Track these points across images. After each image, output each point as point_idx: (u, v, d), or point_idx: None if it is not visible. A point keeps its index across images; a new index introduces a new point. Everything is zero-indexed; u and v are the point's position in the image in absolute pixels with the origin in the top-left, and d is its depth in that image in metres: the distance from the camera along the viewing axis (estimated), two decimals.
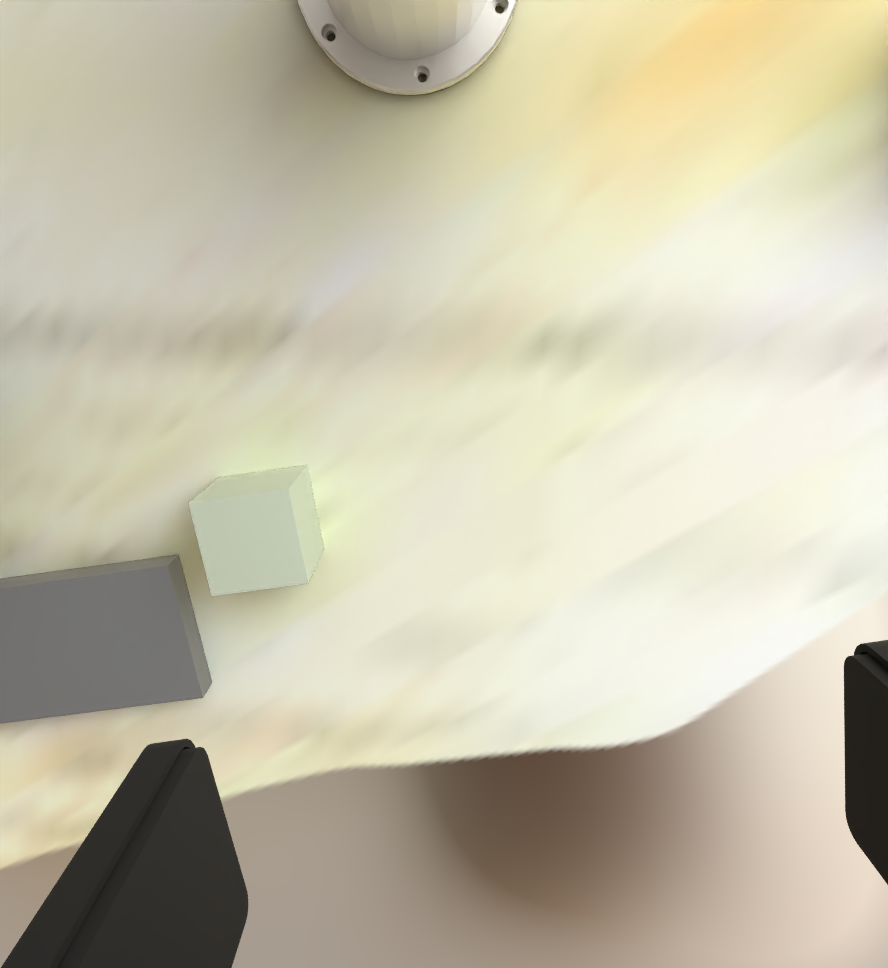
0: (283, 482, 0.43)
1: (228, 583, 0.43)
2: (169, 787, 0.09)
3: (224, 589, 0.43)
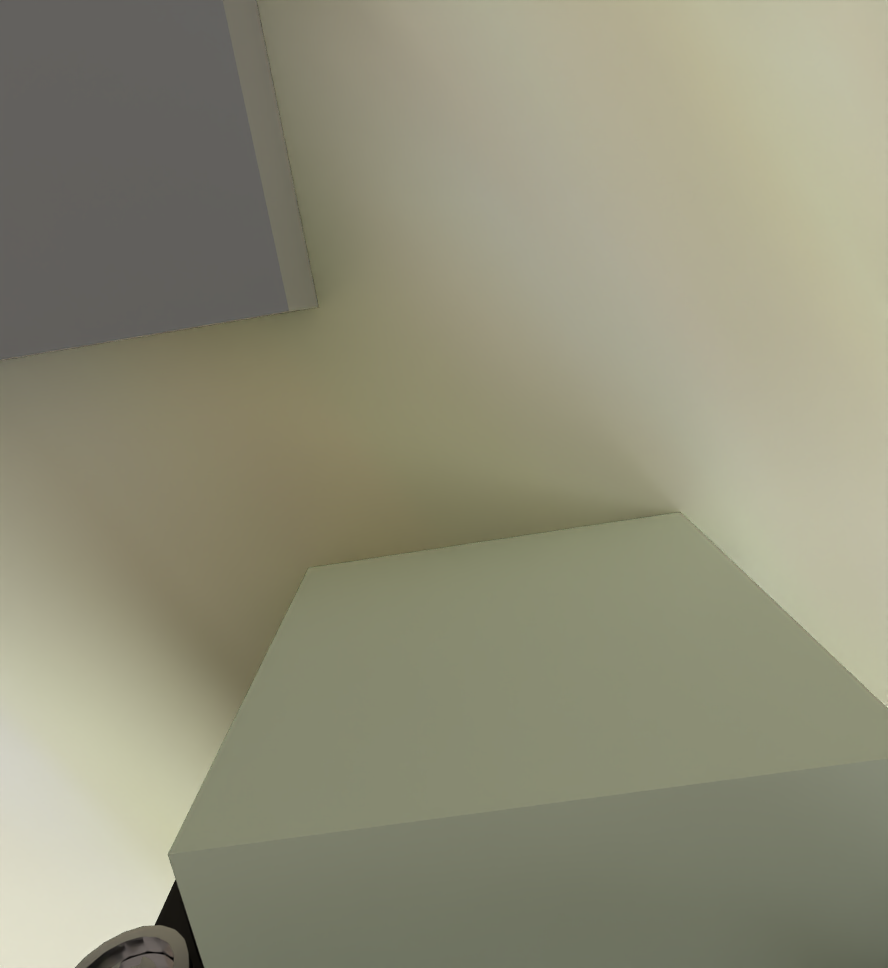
0: None
1: (284, 958, 0.06)
2: None
3: (237, 933, 0.06)
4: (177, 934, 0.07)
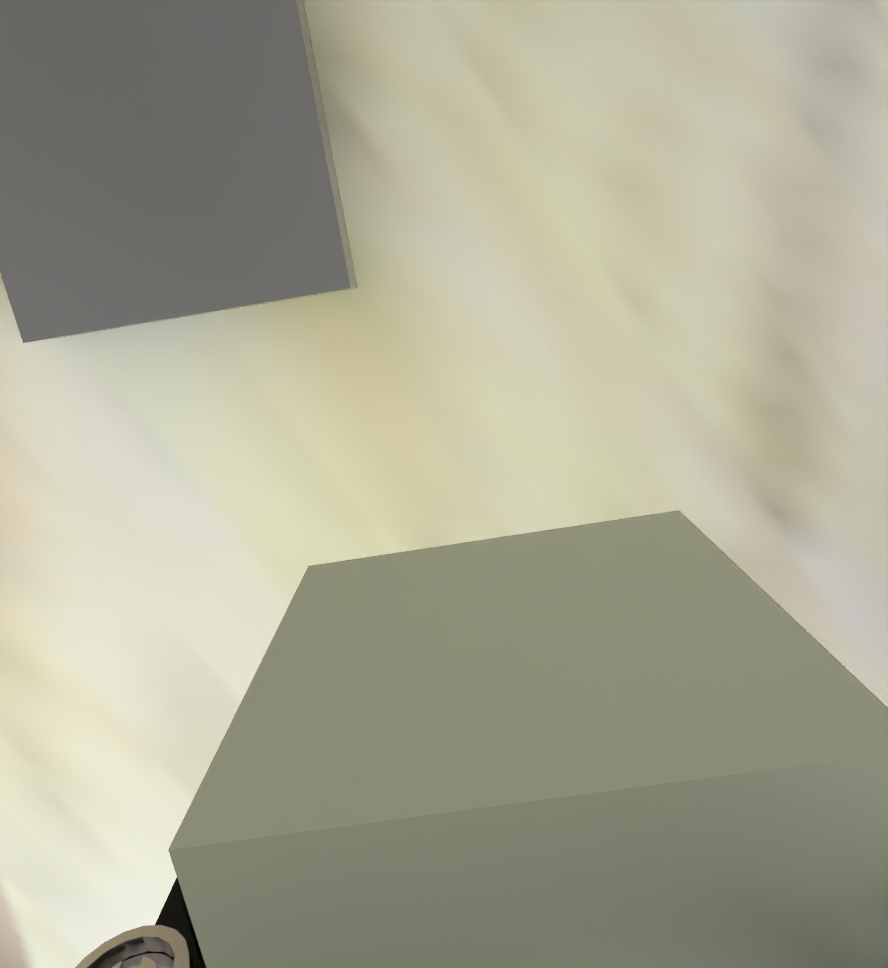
0: None
1: (284, 953, 0.06)
2: None
3: (238, 928, 0.06)
4: (177, 934, 0.07)
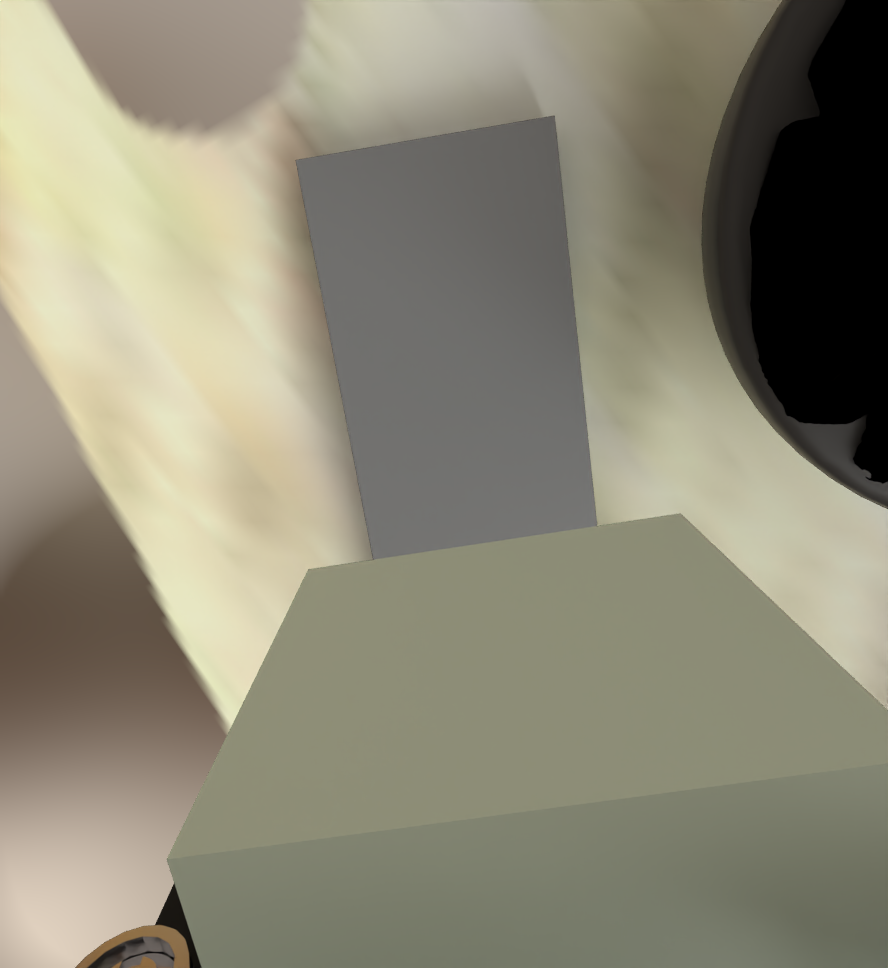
0: None
1: (283, 963, 0.06)
2: None
3: (236, 938, 0.06)
4: (178, 934, 0.07)
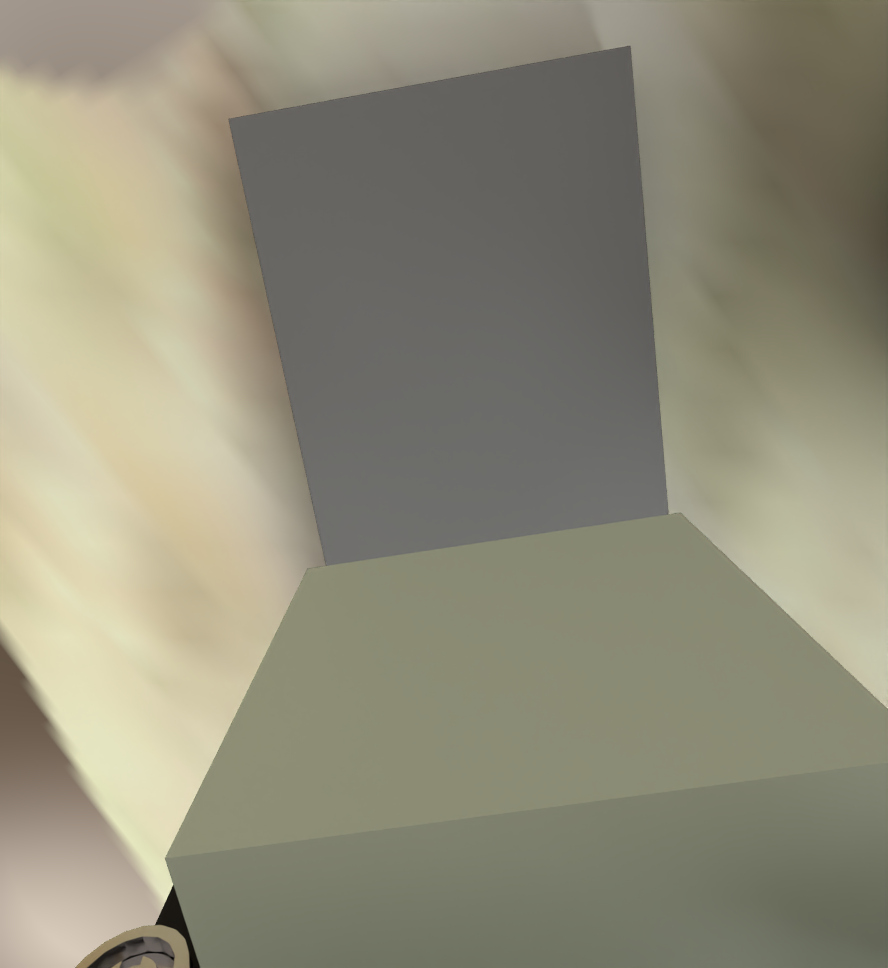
0: None
1: (282, 963, 0.06)
2: None
3: (234, 937, 0.06)
4: (178, 934, 0.07)
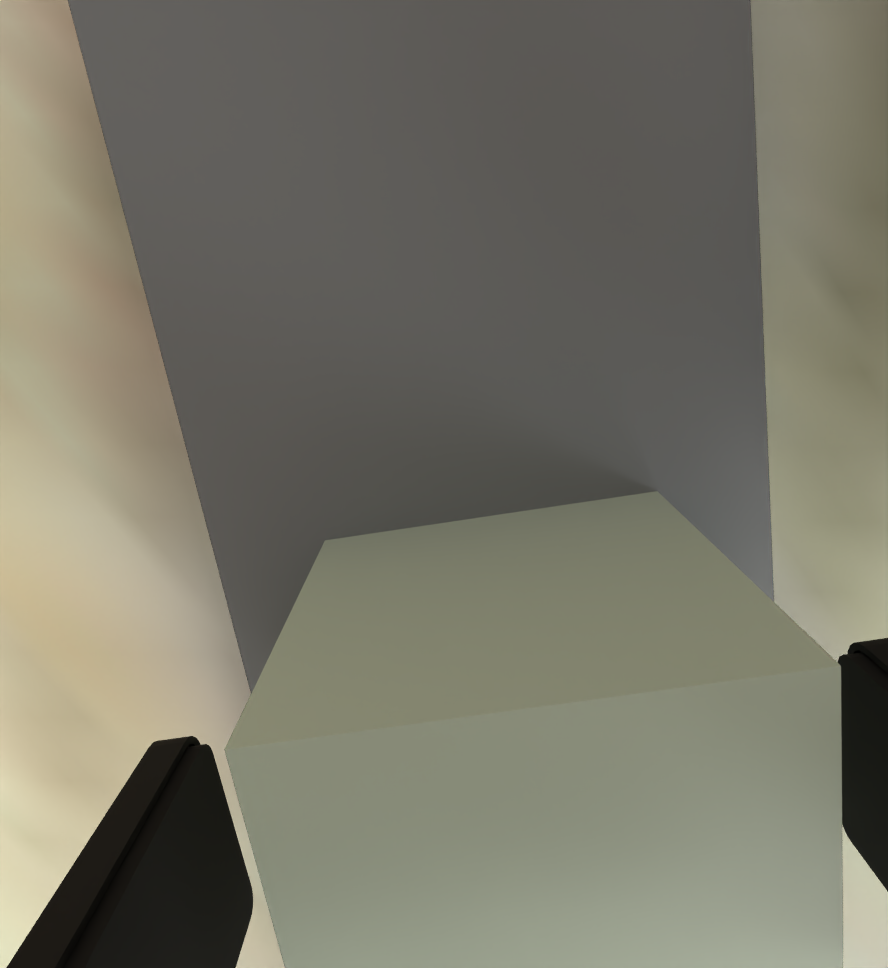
0: None
1: (317, 839, 0.07)
2: (175, 784, 0.09)
3: (279, 817, 0.07)
4: None
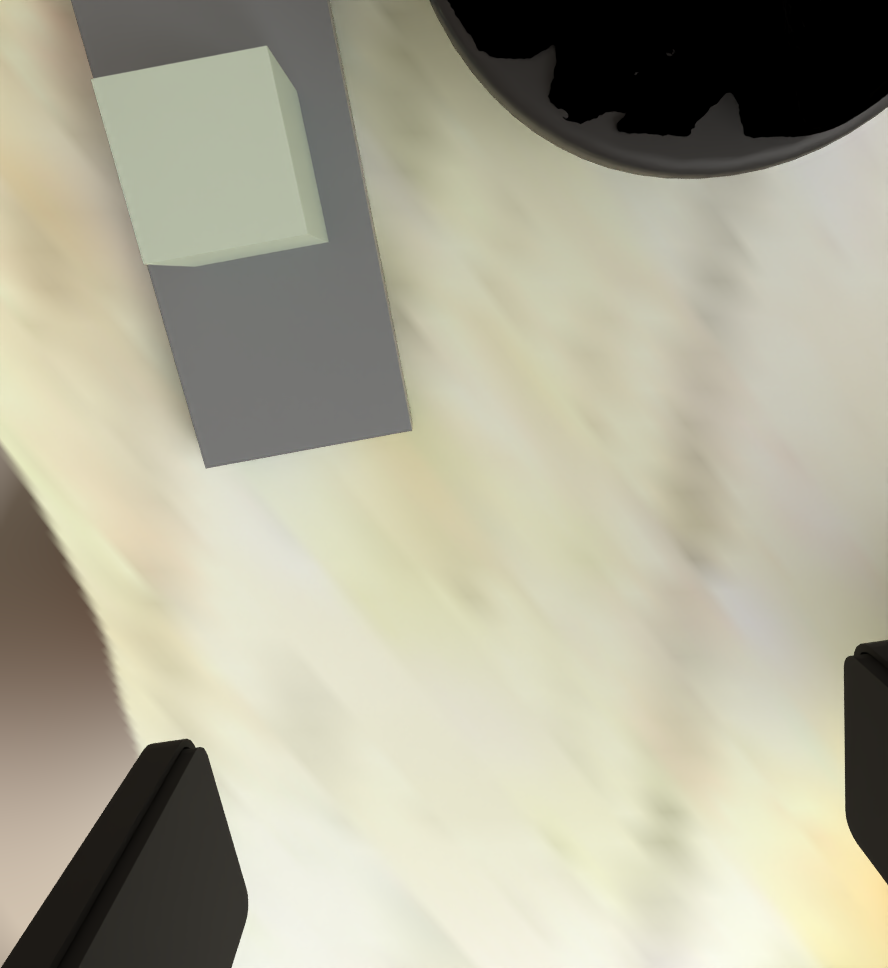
0: (311, 217, 0.27)
1: (121, 114, 0.24)
2: (169, 787, 0.09)
3: (109, 105, 0.24)
4: None
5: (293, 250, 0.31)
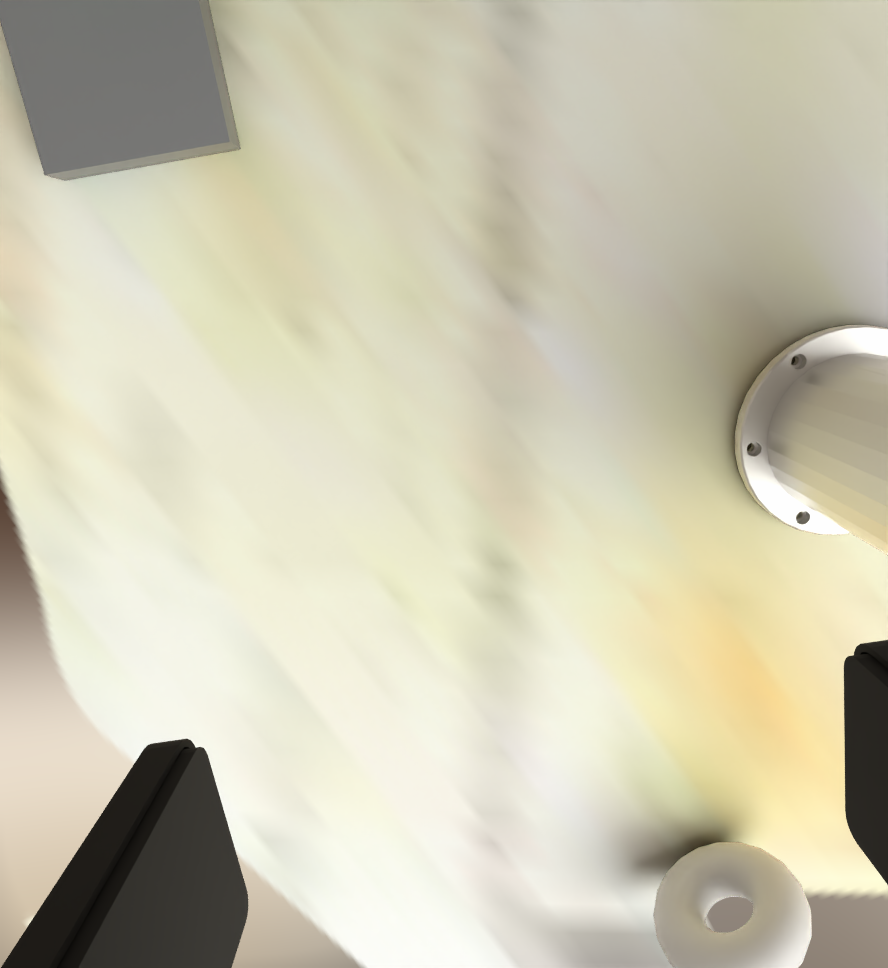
0: None
1: None
2: (169, 787, 0.09)
3: None
4: None
5: None
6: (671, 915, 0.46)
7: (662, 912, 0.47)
